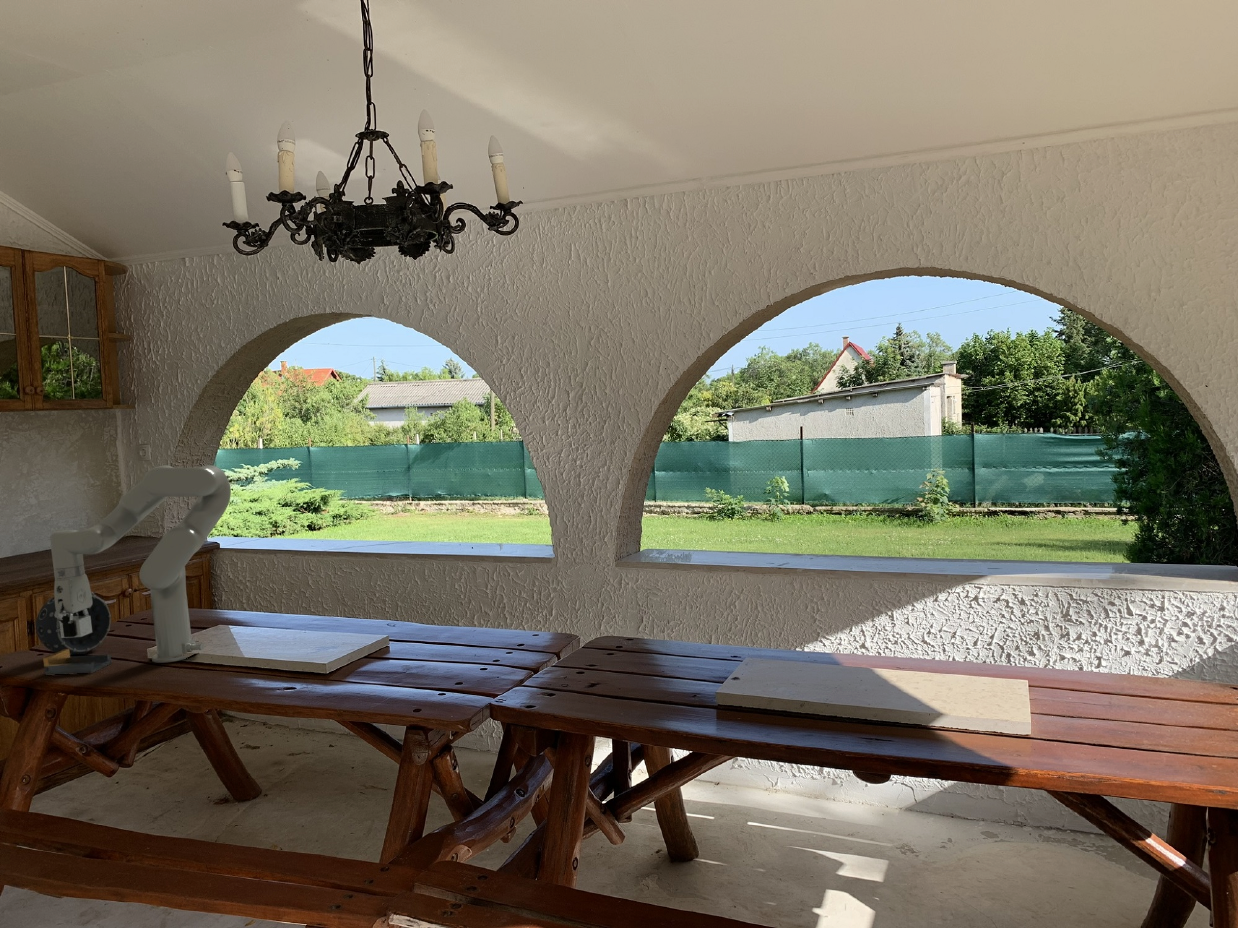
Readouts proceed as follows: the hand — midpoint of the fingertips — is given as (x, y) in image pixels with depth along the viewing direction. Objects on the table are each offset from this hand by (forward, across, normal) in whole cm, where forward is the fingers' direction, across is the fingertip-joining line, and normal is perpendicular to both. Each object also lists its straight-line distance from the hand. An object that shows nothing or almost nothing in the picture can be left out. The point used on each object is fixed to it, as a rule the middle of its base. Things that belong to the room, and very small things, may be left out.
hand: (76, 633), depth 261 cm
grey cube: (+1, 0, 0) cm, 1 cm away
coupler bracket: (+11, 0, +1) cm, 11 cm away
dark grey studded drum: (+11, +18, +14) cm, 25 cm away
